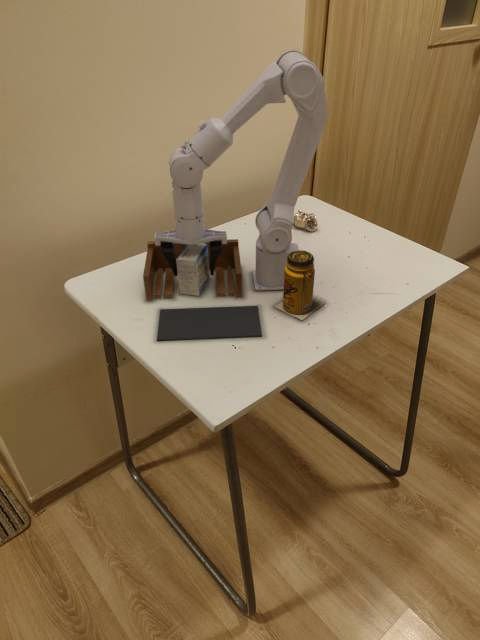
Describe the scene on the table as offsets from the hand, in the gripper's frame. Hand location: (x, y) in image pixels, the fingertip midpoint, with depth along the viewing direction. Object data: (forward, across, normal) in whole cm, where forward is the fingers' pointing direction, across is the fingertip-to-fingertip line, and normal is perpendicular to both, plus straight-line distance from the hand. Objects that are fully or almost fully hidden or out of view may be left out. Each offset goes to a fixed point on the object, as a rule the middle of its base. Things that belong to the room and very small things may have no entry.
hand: (193, 273), depth 107 cm
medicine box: (+3, 0, 0) cm, 3 cm away
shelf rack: (+3, 0, -1) cm, 3 cm away
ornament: (+3, -29, -28) cm, 40 cm away
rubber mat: (+3, -3, +14) cm, 15 cm away
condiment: (+3, -22, +9) cm, 24 cm away
